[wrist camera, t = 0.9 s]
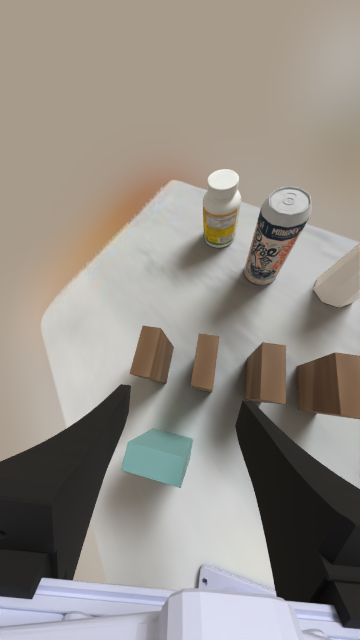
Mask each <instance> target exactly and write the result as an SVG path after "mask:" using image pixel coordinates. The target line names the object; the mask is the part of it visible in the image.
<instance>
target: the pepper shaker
mask: <svg viewBox="0 0 360 640" xmlns="http://www.w3.org/2000/svg"><path fill="white" fill-rule="evenodd" d="M314 291H315V293H316V294H317V296H318V297H319V298H320V300H321V301H322V302H323V303H327V304H330V305H333V306H336V307H342V306H345V305H348V304H351V303H354V302H355V301H356V300H357V299H358V298H359V297H360V243H359V244H358V245H357V246H355V247H354V248H353V249H352V250H351V251H350V252H348V253H347V254H346V255H345V256H344V257H342V258H341V259H340V260H339V261H338V262H336V263H335V264H334V265H333V266H332V267H330V268H329V269H328V270H327V271H326V272H324V273H323V274H322V275H321V276H320V277H318V278H317V281H316V284H315V287H314Z"/></svg>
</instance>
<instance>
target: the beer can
mask: <svg viewBox="0 0 360 640" xmlns="http://www.w3.org/2000/svg"><path fill="white" fill-rule="evenodd" d="M311 212H312V207H311V197H310V194H309V193H307V192H306V191H304V190H303V189H302V188H297V187H290V186H287V187H283V188H279V189H276V190H275V191H274V192H273V193H272V194H271V195H270V196H269V197H268V199H266V200H265V201H264V203H263V204H262V207H261V211H260V214H259V218H258V222H257V225H256V229H255V232H254V236H253V240H252V243H251V247H250V251H249V254H248V258H247V262H246V265H245V270H244V272H245V276H246V277H247V279H248V280H249V281H251V282H252V283H255V284H259V285H264V284H269V283H271V282H272V281H274V280H275V278H276V277H277V275H278V273H279V271H280V269H281V268H282V266H283V264H284V262H285V260H286V259H287V257H288V255H289V253H290V251H291V250H292V248H293V246H294V244H295V242H296V240H297V239H298V237H299V235H300V233H301V231H302V230H303V228H304V226H305V224H306V222H307V220H308V219H309V217H310V215H311Z"/></svg>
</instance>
